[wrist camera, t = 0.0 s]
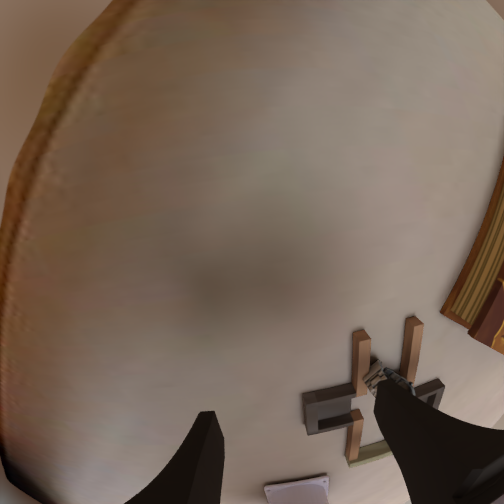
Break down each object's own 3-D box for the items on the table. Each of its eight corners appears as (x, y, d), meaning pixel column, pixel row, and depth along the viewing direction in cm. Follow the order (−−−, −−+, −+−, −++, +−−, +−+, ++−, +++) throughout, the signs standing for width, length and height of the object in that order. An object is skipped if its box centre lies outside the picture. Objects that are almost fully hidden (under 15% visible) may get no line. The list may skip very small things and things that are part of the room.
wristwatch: (377, 387, 24) (397, 420, 20) (352, 362, 23) (372, 397, 19) (401, 367, 24) (424, 398, 19) (378, 340, 23) (403, 372, 18)
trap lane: (422, 429, 26) (429, 439, 24) (307, 464, 26) (310, 477, 24) (452, 304, 22) (465, 312, 20) (298, 343, 22) (303, 357, 20)
